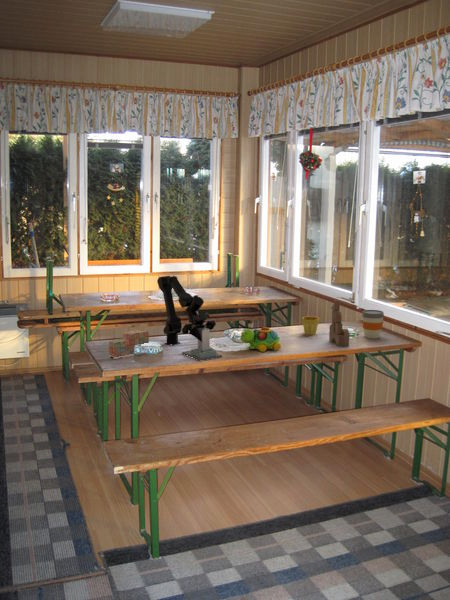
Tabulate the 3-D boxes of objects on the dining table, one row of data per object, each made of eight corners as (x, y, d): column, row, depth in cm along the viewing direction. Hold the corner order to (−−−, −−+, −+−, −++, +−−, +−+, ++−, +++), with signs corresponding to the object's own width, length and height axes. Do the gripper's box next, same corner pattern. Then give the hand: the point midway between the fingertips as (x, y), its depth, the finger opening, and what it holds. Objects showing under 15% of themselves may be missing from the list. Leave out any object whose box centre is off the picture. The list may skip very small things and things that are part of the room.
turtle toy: (235, 347, 357) (235, 326, 355) (273, 343, 365) (273, 323, 363) (246, 354, 341) (247, 333, 339) (286, 350, 349) (286, 329, 347)
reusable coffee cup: (360, 338, 376) (361, 313, 373) (362, 333, 387) (363, 309, 385) (382, 339, 372) (383, 314, 369) (383, 334, 383) (384, 310, 381)
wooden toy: (349, 346, 357) (351, 302, 353) (338, 346, 356) (339, 303, 351) (338, 339, 372) (339, 297, 367) (327, 340, 370) (328, 298, 366)
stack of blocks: (115, 360, 331) (114, 337, 329) (109, 357, 336) (108, 335, 334) (149, 352, 345) (148, 330, 343) (142, 350, 350) (142, 328, 348)
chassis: (181, 353, 342) (181, 347, 342) (203, 349, 350) (203, 343, 350) (199, 361, 328) (199, 354, 327) (222, 357, 336) (222, 350, 335)
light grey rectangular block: (197, 351, 338) (197, 328, 335) (205, 350, 340) (204, 327, 338) (202, 353, 334) (202, 330, 332) (209, 352, 336) (209, 329, 334)
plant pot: (314, 336, 380) (315, 320, 378) (298, 334, 385) (299, 318, 383) (321, 333, 389) (321, 317, 387) (305, 331, 394) (305, 315, 392)
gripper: (184, 309, 331) (195, 334, 324) (214, 305, 341) (225, 329, 334) (176, 321, 339) (187, 345, 332) (206, 317, 349) (217, 340, 342)
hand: (205, 340), depth 335 cm, fingers closed on light grey rectangular block, 4 cm apart
